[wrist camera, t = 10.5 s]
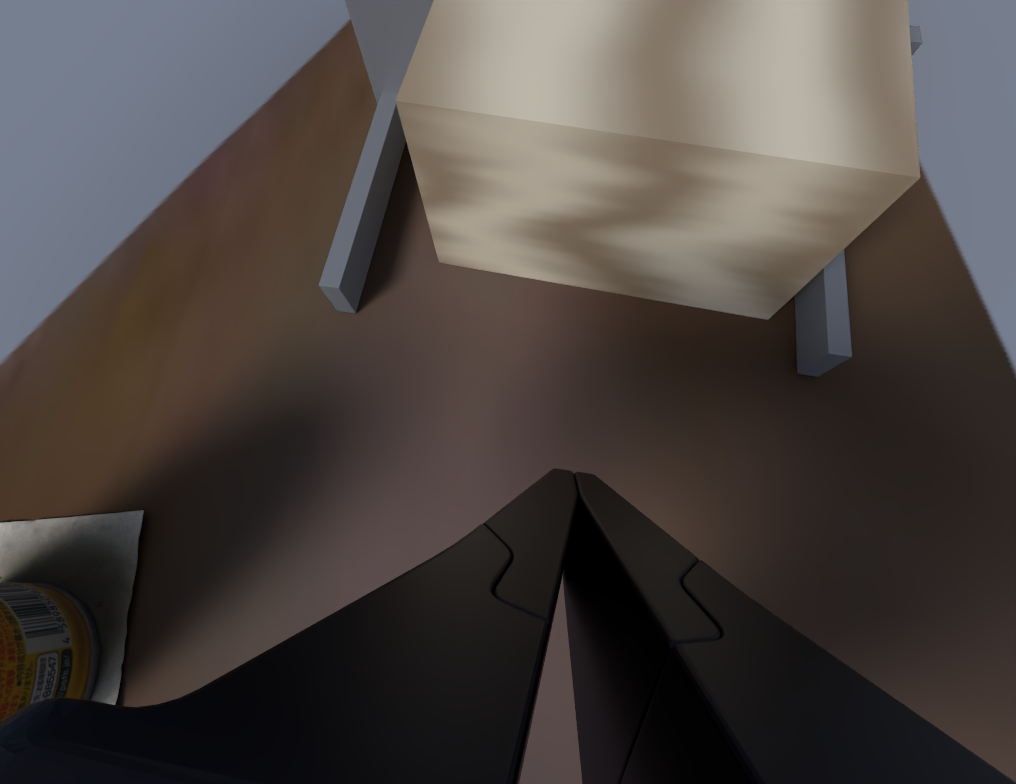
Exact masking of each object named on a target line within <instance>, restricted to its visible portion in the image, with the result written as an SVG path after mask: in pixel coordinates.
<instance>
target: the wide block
mask: <svg viewBox="0 0 1016 784" xmlns="http://www.w3.org/2000/svg"><path fill="white" fill-rule="evenodd" d="M395 101H396V105H397V108H398V112H399V116H400V119H401V123H402V127H403V131H404V134H405V138H406V142H407V145H408V149H409V153H410V156H411V160H412V164H413V168H414V171H415V175H416V179H417V182H418V186H419V190H420V194H421V197H422V201H423V205H424V208H425V212H426V216H427V219H428V223H429V227H430V231H431V234H432V238H433V242H434V245H435V249H436V253H437V256H438V260H439V262H440V263H446V264H452V265H457V266H463V267H469V268H474V269H480V270H486V271H492V272H497V273H503V274H509V275H514V276H520V277H526V278H532V279H537V280H543V281H549V282H554V283H560V284H566V285H572V286H577V287H583V288H589V289H594V290H600V291H606V292H611V293H617V294H623V295H629V296H634V297H640V298H646V299H651V300H657V301H663V302H669V303H674V304H680V305H686V306H691V307H697V308H703V309H709V310H714V311H720V312H726V313H731V314H737V315H743V316H749V317H754V318H760V319H766V320H769V319H770V318H771V317H772V316H773V315H774V314H775V313H776V312H777V311H778V310H779V309H780V308H781V307H782V306H784V305H785V304H786V303H787V302H788V301H789V300H790V299H791V298H792V297H793V296H794V295H795V294H796V293H797V292H799V291H800V290H801V289H802V288H803V287H804V286H805V285H806V284H807V283H808V282H809V281H810V280H811V279H812V278H814V277H815V276H816V275H817V274H818V273H819V272H820V271H821V270H822V269H823V268H824V267H825V266H826V265H827V264H828V263H830V262H831V261H832V260H833V259H834V258H835V257H836V256H837V255H838V254H839V253H840V252H841V251H842V250H843V249H845V248H846V247H847V246H848V245H849V244H850V243H851V242H852V241H853V240H854V239H855V238H856V237H857V236H858V235H860V234H861V233H862V232H863V231H864V230H865V229H866V228H867V227H868V226H869V225H870V224H871V223H872V222H873V221H874V220H876V219H877V218H878V217H879V216H880V215H881V214H882V213H883V212H884V211H885V210H886V209H887V208H888V207H889V206H891V205H892V204H893V203H894V202H895V201H896V200H897V199H898V198H899V197H900V196H901V195H902V194H903V193H904V192H906V191H907V190H908V189H909V188H910V187H911V186H912V185H913V184H914V183H915V182H916V181H917V180H918V179H919V178H920V166H919V152H918V139H917V124H916V111H915V97H914V85H913V70H912V56H911V42H910V28H909V15H908V2H907V0H434V1H433V4H432V6H431V9H430V11H429V14H428V17H427V19H426V22H425V24H424V27H423V30H422V32H421V35H420V38H419V40H418V43H417V45H416V48H415V51H414V53H413V56H412V59H411V61H410V64H409V66H408V69H407V72H406V74H405V77H404V79H403V82H402V85H401V87H400V90H399V93H398V95H397V98H396V100H395Z"/></svg>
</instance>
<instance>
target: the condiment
mask: <svg viewBox="0 0 1016 784" xmlns="http://www.w3.org/2000/svg"><path fill="white" fill-rule="evenodd" d="M143 512H144V510H140V511H128V512H121V513H109V514H99V515H87V516H76V517H67V518H53V519H41V520H36V521H16V522H4V523H0V576H1V577H2V578H1V579H0V723H1V722H3V721H4V720H5V719H7V718H8V717H9V716H11V715H12V714H14V713H15V712H17V711H18V710H19V709H21V708H23V707H25V706H27V705H29V704H31V703H33V702H36V701H40V700H44V699H49V698H59V697H68V698H76V699H85V700H92V701H97V702H102V703H107V704H112V705H115V703H116V700H117V697H118V692H119V686H120V680H121V665H122V663H123V659H124V648H125V638H126V634H127V613H128V608H129V605H130V602H131V597H132V589H133V583H134V578H135V573H136V568H137V559H138V539H139V534H140V530H141V525H142V518H143ZM99 602H100V603H101V606H99V607H97V606H96V605H97V603H99Z"/></svg>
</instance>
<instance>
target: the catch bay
mask: <svg viewBox="0 0 1016 784" xmlns="http://www.w3.org/2000/svg"><path fill="white" fill-rule="evenodd" d="M433 1H434V0H345V2H346V5H347V8H348V11H349V15H350V18H351V21H352V24H353V28H354V31H355V34H356V37H357V40H358V44H359V47H360V50H361V53H362V56H363V60H364V63H365V66H366V69H367V72H368V76H369V79H370V82H371V85H372V89H373V92H374V95H375V98H376V101H377V108H376V111H375V114H374V117H373V120H372V123H371V127H370V130H369V133H368V136H367V139H366V142H365V145H364V148H363V151H362V154H361V157H360V160H359V163H358V166H357V169H356V173H355V176H354V179H353V182H352V185H351V188H350V191H349V194H348V197H347V200H346V203H345V206H344V209H343V212H342V215H341V218H340V222H339V225H338V228H337V231H336V234H335V237H334V240H333V243H332V246H331V249H330V252H329V255H328V258H327V261H326V264H325V267H324V271H323V274H322V277H321V280H320V283H319V287H320V288H321V289H322V291H323V292H324V294H325V295H326V296H327V298H328V299H329V300H330V302H331V303H332V304H333V306H334V307H335V308H336V310H337V311H342V312H349V313H356V311H357V307H358V304H359V300H360V297H361V294H362V290H363V287H364V283H365V280H366V276H367V273H368V270H369V266H370V263H371V259H372V256H373V252H374V249H375V246H376V242H377V239H378V235H379V232H380V229H381V225H382V222H383V218H384V215H385V211H386V208H387V205H388V201H389V198H390V194H391V191H392V187H393V184H394V181H395V177H396V174H397V170H398V167H399V163H400V160H401V157H402V153H403V150H404V146H405V143H406V138H405V134H404V131H403V127H402V123H401V119H400V116H399V112H398V108H397V105H396V101H395V100H396V98H397V95H398V93H399V90H400V87H401V85H402V82H403V79H404V77H405V74H406V72H407V69H408V66H409V64H410V61H411V59H412V56H413V53H414V51H415V48H416V45H417V43H418V40H419V38H420V35H421V32H422V30H423V27H424V24H425V22H426V19H427V17H428V14H429V11H430V9H431V6H432V4H433ZM909 28H910V42H911V56H912V55H913V54H914V53H915V51H916V50H917V49H918V48H919V46H920V45H921V44H922V38H921V31H920V26H910V25H909ZM795 320H796V349H797V374H802V375H809V376H816V377H819V376H821V375H822V374H824V373H826V372H827V371H829V370H831V369H832V368H834V367H836V366H837V365H839V364H841V363H843V362H844V361H846V360H848V359H849V358H851V357H852V349H851V335H850V322H849V309H848V295H847V282H846V268H845V255H844V249H843V250H842V251H841V252H840V253H839V254H838V255H837V256H836V257H835V258H834V259H833V260H832V261H831V262H830V263H828V264H827V265H826V266H825V267H824V268H823V269H822V270H821V271H820V272H819V273H818V274H817V275H816V276H815V277H814V278H812V279H811V280H810V281H809V282H808V283H807V284H806V285H805V286H804V287H803V288H802V289H801V290H800V291H799V292H797V293H796V294H795Z"/></svg>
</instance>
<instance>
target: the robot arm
mask: <svg viewBox="0 0 1016 784" xmlns="http://www.w3.org/2000/svg"><path fill="white" fill-rule="evenodd" d="M562 575H563V584H564V596H565V606H566V617H567V627H568V638H569V648H570V658H571V669H572V679H573V689H574V700H575V710H576V720H577V731H578V741H579V752H580V762H581V772H582V783H583V784H1016V782H1014V781H1013V780H1011V779H1010V778H1009V777H1007V776H1006V775H1004V774H1003V773H1001V772H1000V771H998V770H997V769H996V768H994V767H993V766H991V765H990V764H988V763H987V762H985V761H984V760H983V759H981V758H980V757H978V756H977V755H975V754H974V753H972V752H971V751H970V750H968V749H967V748H965V747H964V746H962V745H961V744H960V743H958V742H957V741H955V740H954V739H952V738H951V737H949V736H948V735H947V734H945V733H944V732H942V731H941V730H939V729H938V728H936V727H935V726H934V725H932V724H931V723H929V722H928V721H926V720H925V719H924V718H922V717H921V716H919V715H918V714H916V713H915V712H913V711H912V710H911V709H909V708H908V707H906V706H905V705H903V704H902V703H900V702H899V701H898V700H896V699H895V698H893V697H892V696H890V695H889V694H887V693H886V692H885V691H883V690H882V689H880V688H879V687H877V686H876V685H875V684H873V683H872V682H870V681H869V680H867V679H866V678H864V677H863V676H862V675H860V674H859V673H857V672H856V671H854V670H853V669H851V668H850V667H849V666H847V665H846V664H844V663H843V662H841V661H840V660H839V659H837V658H836V657H834V656H833V655H831V654H830V653H828V652H827V651H826V650H824V649H823V648H821V647H820V646H818V645H817V644H815V643H814V642H813V641H811V640H810V639H808V638H807V637H805V636H804V635H802V634H801V633H800V632H798V631H797V630H795V629H794V628H792V627H791V626H790V625H788V624H787V623H785V622H784V621H782V620H781V619H779V618H778V617H777V616H775V615H774V614H772V613H771V612H770V611H768V610H767V609H765V608H764V607H762V606H761V605H760V604H758V603H757V602H755V601H754V600H753V599H751V598H750V597H748V596H747V595H746V594H744V593H743V592H741V591H740V590H739V589H738V588H736V587H735V586H734V585H732V584H731V583H730V582H728V581H727V580H726V579H725V578H723V577H722V576H721V575H719V574H718V573H717V572H716V571H714V570H713V569H712V568H711V567H709V566H708V565H707V564H706V563H705V562H703V561H701V560H700V561H699V559H698V558H697V557H696V556H695V555H693V554H692V553H691V552H690V551H688V550H687V549H686V548H685V547H683V546H682V545H681V544H680V543H679V542H677V541H676V540H675V539H674V538H672V537H671V536H670V535H669V534H667V533H666V532H665V531H664V530H662V529H661V528H660V527H659V526H657V525H656V524H655V523H654V522H652V521H651V520H650V519H649V518H647V517H646V516H645V515H644V514H643V513H641V512H640V511H639V510H638V509H636V508H635V507H634V506H633V505H631V504H630V503H629V502H628V501H626V500H625V499H624V498H623V497H621V496H620V495H619V494H618V493H616V492H615V491H614V490H613V489H612V488H610V487H609V486H608V485H607V484H605V483H604V482H603V481H602V480H600V479H599V478H598V477H597V476H595V475H593V474H588V473H582V472H576V473H574V474H573V472H572V471H569V470H562V469H552V470H551V471H549V472H548V473H547V474H546V475H544V476H543V477H542V478H541V479H539V480H538V481H537V482H535V483H534V484H533V485H532V486H530V487H529V488H528V489H527V490H525V491H524V492H523V493H521V494H520V495H519V496H518V497H516V498H515V499H514V500H513V501H511V502H510V503H509V504H507V505H506V506H505V507H504V508H502V509H501V510H500V511H498V512H497V513H496V514H495V515H493V516H492V517H491V518H490V519H488V520H487V521H486V522H484V523H483V524H482V525H480V526H478V527H477V528H476V529H474V530H473V531H472V532H471V533H469V534H468V535H466V536H465V537H464V538H462V539H461V540H459V541H458V542H457V543H455V544H454V545H452V546H450V547H449V548H447V549H445V550H444V551H442V552H440V553H439V554H437V555H436V556H434V557H432V558H430V559H429V560H427V561H425V562H423V563H422V564H420V565H418V566H416V567H414V568H413V569H411V570H409V571H407V572H406V573H404V574H402V575H400V576H399V577H397V578H395V579H393V580H391V581H390V582H388V583H386V584H384V585H383V586H381V587H379V588H377V589H375V590H374V591H372V592H370V593H368V594H367V595H365V596H363V597H361V598H359V599H358V600H356V601H354V602H352V603H351V604H349V605H347V606H345V607H343V608H342V609H340V610H338V611H336V612H335V613H333V614H331V615H329V616H327V617H326V618H324V619H322V620H320V621H319V622H317V623H315V624H313V625H312V626H310V627H308V628H306V629H304V630H303V631H301V632H299V633H297V634H296V635H294V636H292V637H290V638H288V639H287V640H285V641H283V642H281V643H280V644H278V645H276V646H274V647H272V648H271V649H269V650H267V651H265V652H264V653H262V654H260V655H258V656H256V657H255V658H253V659H251V660H249V661H248V662H246V663H244V664H242V665H240V666H239V667H237V668H235V669H233V670H232V671H230V672H228V673H226V674H225V675H223V676H221V677H219V678H217V679H216V680H214V681H212V682H210V683H209V684H207V685H205V686H203V687H201V688H200V689H198V690H196V691H193V692H191V693H189V694H187V695H185V696H183V697H181V698H178V699H175V700H171V701H168V702H164V703H161V704H157V705H150V706H142V707H126V706H117V705H112V704H107V703H102V702H97V701H92V700H85V699H76V698H68V697H59V698H49V699H44V700H40V701H36V702H33V703H31V704H29V705H27V706H25V707H23V708H21V709H19V710H18V711H17V712H15V713H14V714H12V715H11V716H9V717H8V718H7V719H5V720H4V721H3V722H1V723H0V784H519V781H520V776H521V771H522V766H523V762H524V757H525V752H526V747H527V742H528V738H529V733H530V728H531V723H532V718H533V714H534V709H535V704H536V699H537V695H538V690H539V685H540V680H541V675H542V671H543V666H544V661H545V656H546V652H547V647H548V642H549V637H550V632H551V628H552V623H553V618H554V613H555V609H556V604H557V599H558V594H559V589H560V585H561V580H562Z"/></svg>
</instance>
